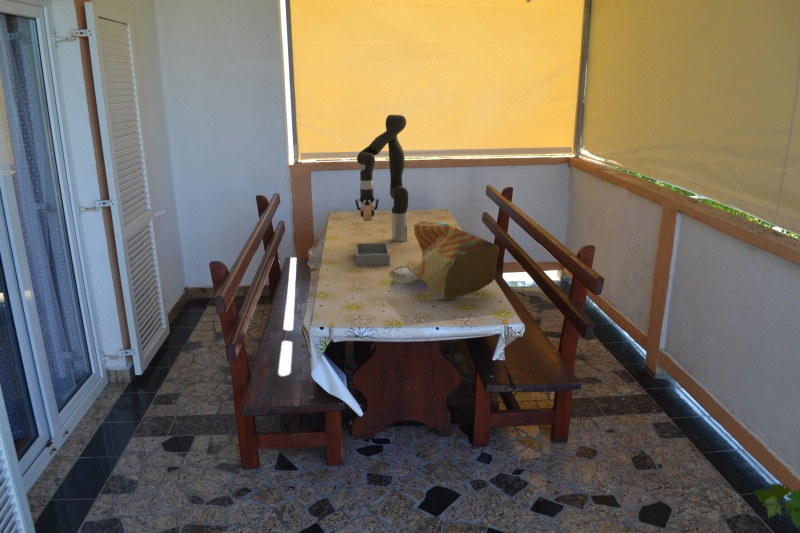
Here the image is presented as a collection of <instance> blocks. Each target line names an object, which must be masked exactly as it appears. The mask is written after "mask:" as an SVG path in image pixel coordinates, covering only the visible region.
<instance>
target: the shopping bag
mask: <svg viewBox="0 0 800 533" xmlns="http://www.w3.org/2000/svg"><path fill="white" fill-rule="evenodd" d="M436 223H437V222H430V221H423V220H420V221H419V222H416V223H415V224H414V225H413V231H414V236H415V238H416V241H417V242H418V245H419V248H420V250H421V261H420V263H419V264H418V263H411V262H408V263H407V264H406V265H405V266H406V269H407V270H408V271H409V272H410V271H411V272H410V273H412V275H414V276H415V277H417V278H419V279H420V280H421V281H423V282H424V283H425V284H427V285H428V286H429V287H431V288H432V289H433V290H434V291H436V292H437V293H439V294H440V295H441V296H442V297H444V298H445V299H447V300H450V299H455V298H460V297H462V296H465V295H469V294H471V293H474V292H478V291H479V290H481V289H483V288H485V287H487V286H488V285H490V284H491V283H492V282H493V281H494V280H495V275H496V270H497V265H498V258H499V253H500V247H499V246H498V245H497V244H495V243H493V242H491V241H488V240H486V239H484V238H481V237H480V236H476V235H475V234H471V233H469V232H466V231H465V230H461V229H459V228H457V227H453V226H450V225H449V226H444V225H440V224H436Z"/></svg>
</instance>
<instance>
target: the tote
mask: <svg viewBox="0 0 800 533" xmlns="http://www.w3.org/2000/svg"><path fill="white" fill-rule="evenodd" d="M388 244H389V243H388V242H366V243H363V242H362V243H358V242H357V243H355V259H356V260H355V262H356V264H355V266H356V267H371V266H372V267H375V266H379V267H380V266H390V265H391V255H390V250H389V245H388Z"/></svg>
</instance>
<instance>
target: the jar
mask: <svg viewBox="0 0 800 533" xmlns="http://www.w3.org/2000/svg"><path fill="white" fill-rule="evenodd" d="M362 221H363V222H370V221H373V217H372V209H371V205H364V207H363V217H362Z"/></svg>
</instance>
